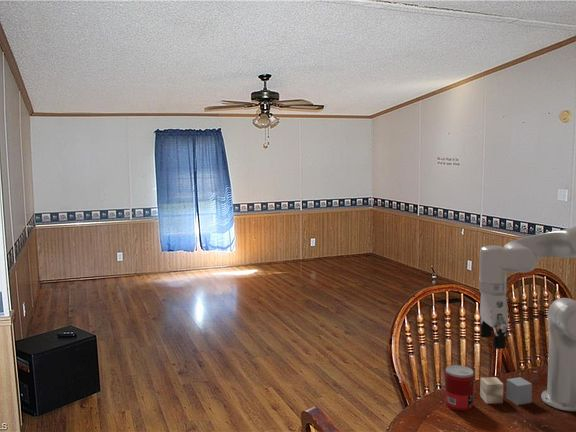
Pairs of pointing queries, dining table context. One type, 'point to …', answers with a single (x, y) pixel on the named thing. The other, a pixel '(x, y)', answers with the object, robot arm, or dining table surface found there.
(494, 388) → the birch block
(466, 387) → the canned food
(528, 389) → the slate block
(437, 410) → the dining table surface
